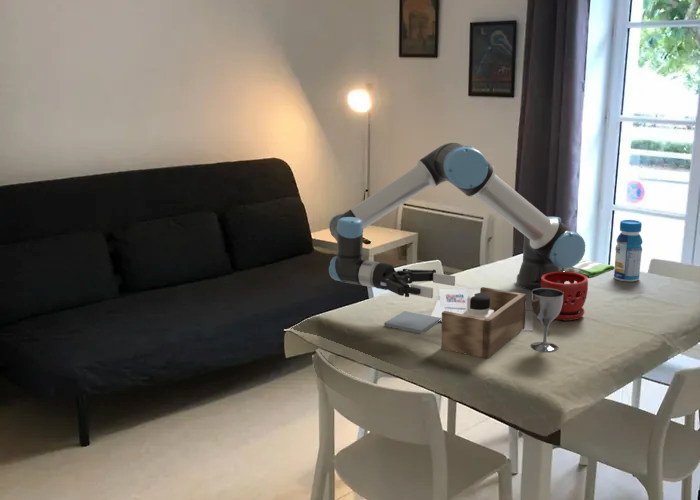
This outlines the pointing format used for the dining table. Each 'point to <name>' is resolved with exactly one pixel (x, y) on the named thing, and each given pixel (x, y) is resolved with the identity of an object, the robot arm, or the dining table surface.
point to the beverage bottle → (628, 251)
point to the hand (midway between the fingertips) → (443, 286)
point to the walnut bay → (485, 325)
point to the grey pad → (412, 322)
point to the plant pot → (568, 292)
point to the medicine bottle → (478, 305)
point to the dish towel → (588, 268)
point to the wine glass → (546, 313)
